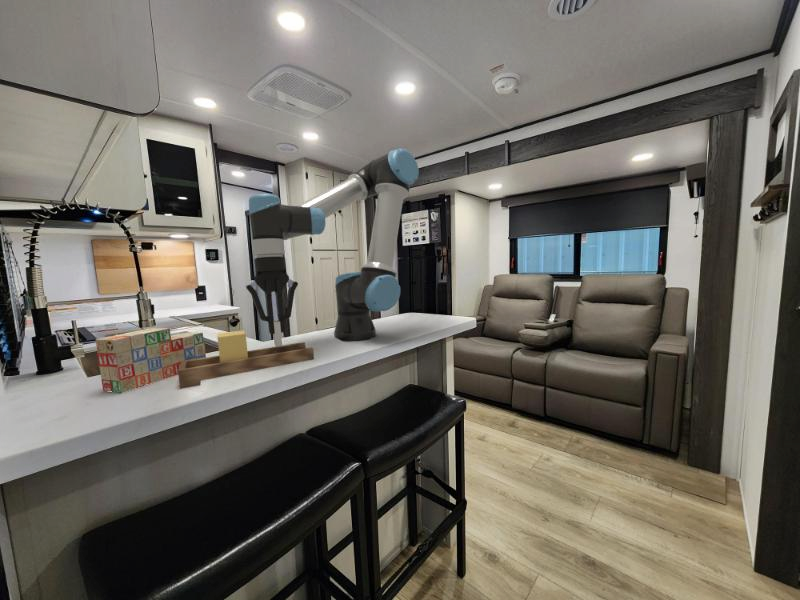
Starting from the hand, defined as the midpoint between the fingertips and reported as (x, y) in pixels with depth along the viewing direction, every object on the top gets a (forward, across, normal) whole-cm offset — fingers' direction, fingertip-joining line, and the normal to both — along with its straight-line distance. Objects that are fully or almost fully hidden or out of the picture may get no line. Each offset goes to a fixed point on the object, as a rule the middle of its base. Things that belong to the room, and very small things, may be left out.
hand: (278, 345), depth 86 cm
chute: (+5, +7, 0) cm, 9 cm away
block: (+4, +11, 0) cm, 12 cm away
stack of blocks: (+5, +27, -9) cm, 29 cm away
